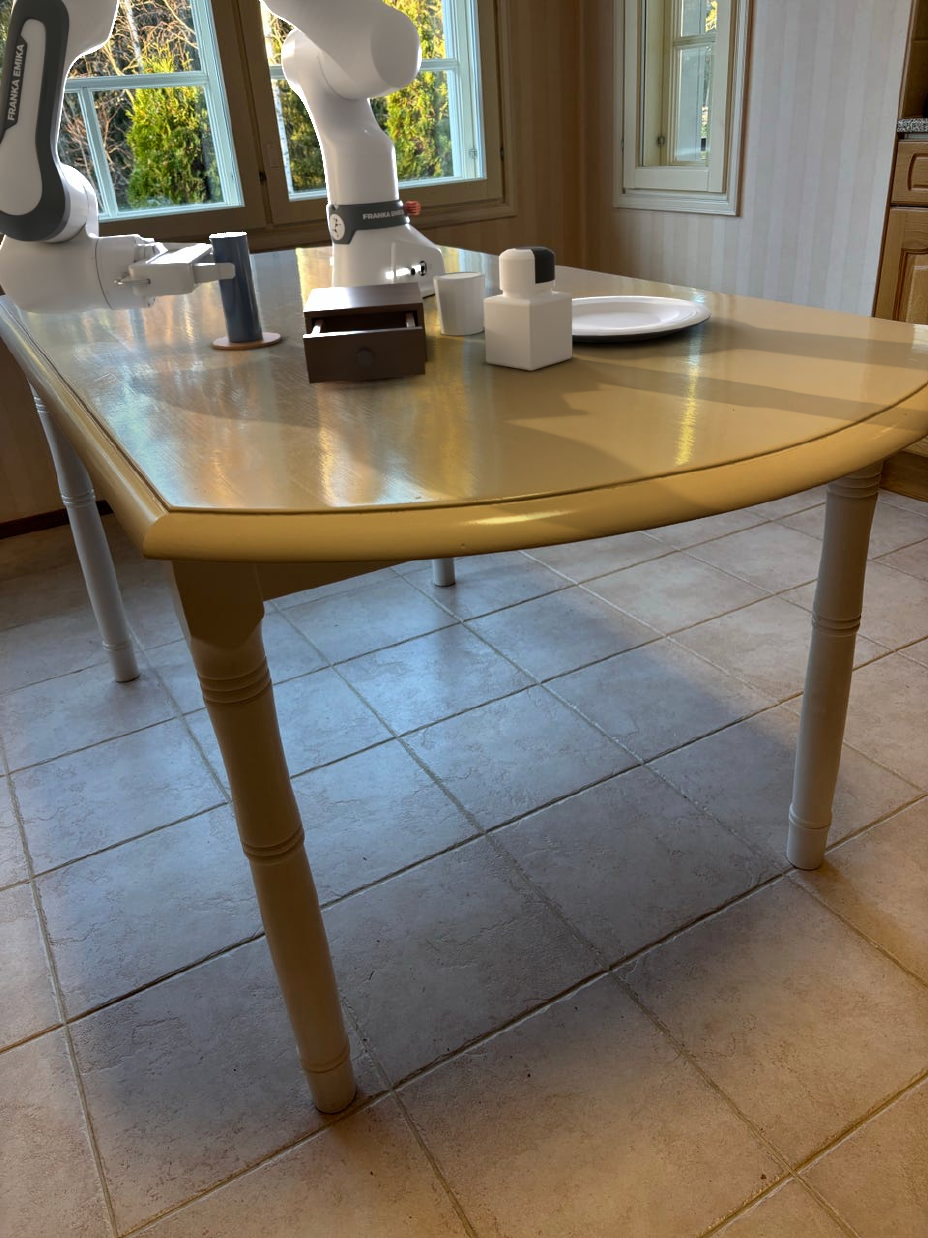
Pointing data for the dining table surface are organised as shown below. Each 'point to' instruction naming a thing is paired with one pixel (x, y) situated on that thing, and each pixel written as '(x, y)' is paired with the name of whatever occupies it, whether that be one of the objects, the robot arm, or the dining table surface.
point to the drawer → (364, 347)
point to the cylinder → (237, 288)
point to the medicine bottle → (528, 312)
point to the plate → (632, 318)
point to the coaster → (265, 341)
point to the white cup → (460, 302)
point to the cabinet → (366, 303)
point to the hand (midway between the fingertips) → (239, 264)
